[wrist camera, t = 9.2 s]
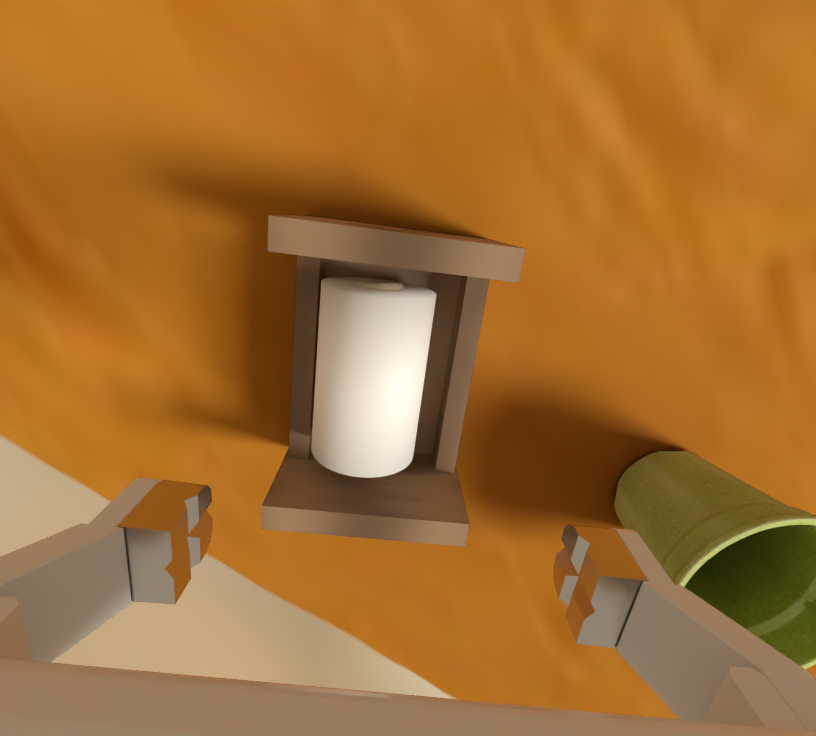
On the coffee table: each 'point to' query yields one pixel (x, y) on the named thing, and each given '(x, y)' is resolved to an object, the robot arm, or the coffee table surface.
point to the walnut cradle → (442, 391)
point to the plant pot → (727, 546)
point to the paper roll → (369, 374)
